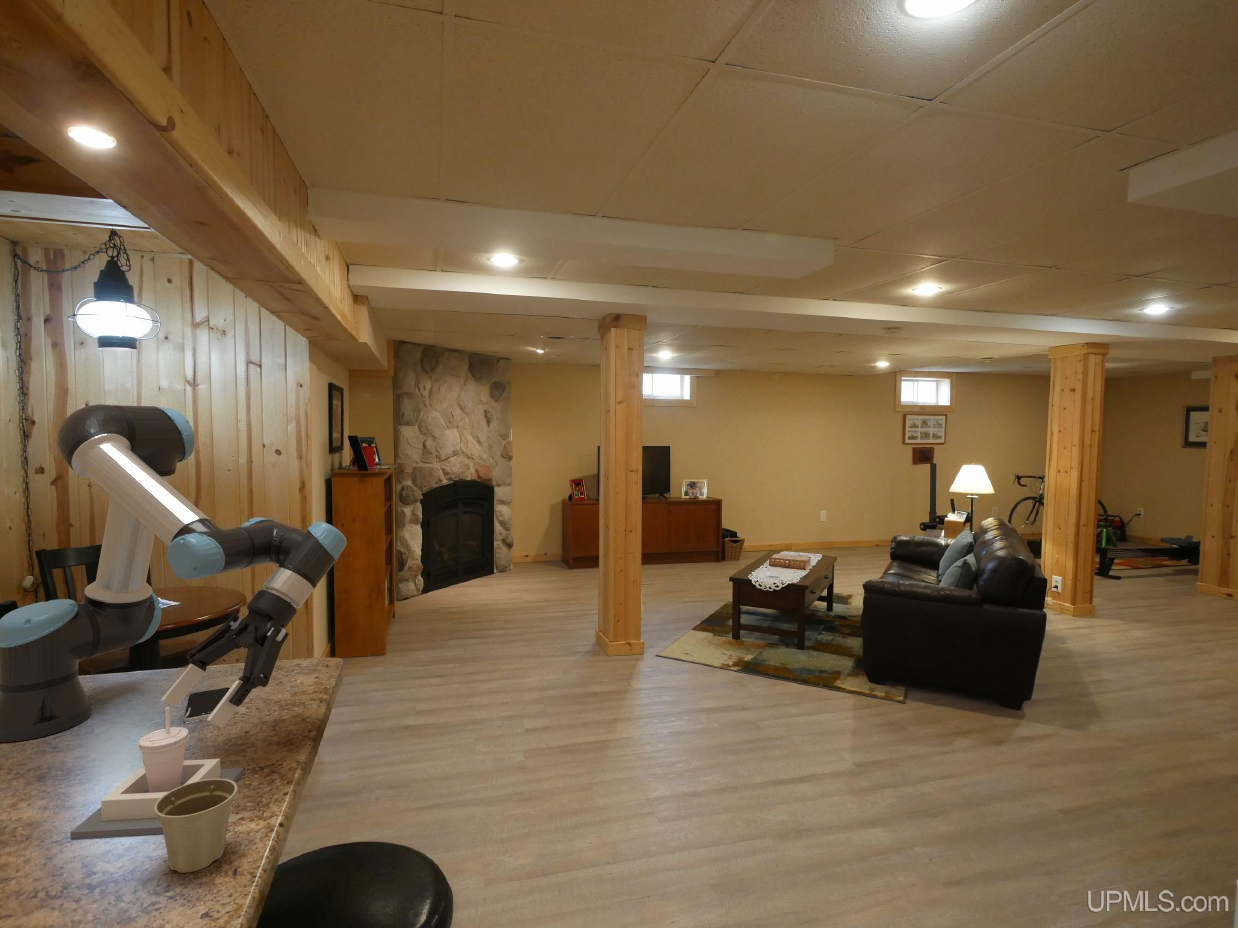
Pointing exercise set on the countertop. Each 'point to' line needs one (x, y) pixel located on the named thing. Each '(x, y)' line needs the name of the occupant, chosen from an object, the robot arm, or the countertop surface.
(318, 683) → the countertop surface
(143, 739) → the smoothie
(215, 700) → the smartphone
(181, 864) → the flower pot
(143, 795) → the socket
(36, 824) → the countertop surface
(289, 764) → the countertop surface
